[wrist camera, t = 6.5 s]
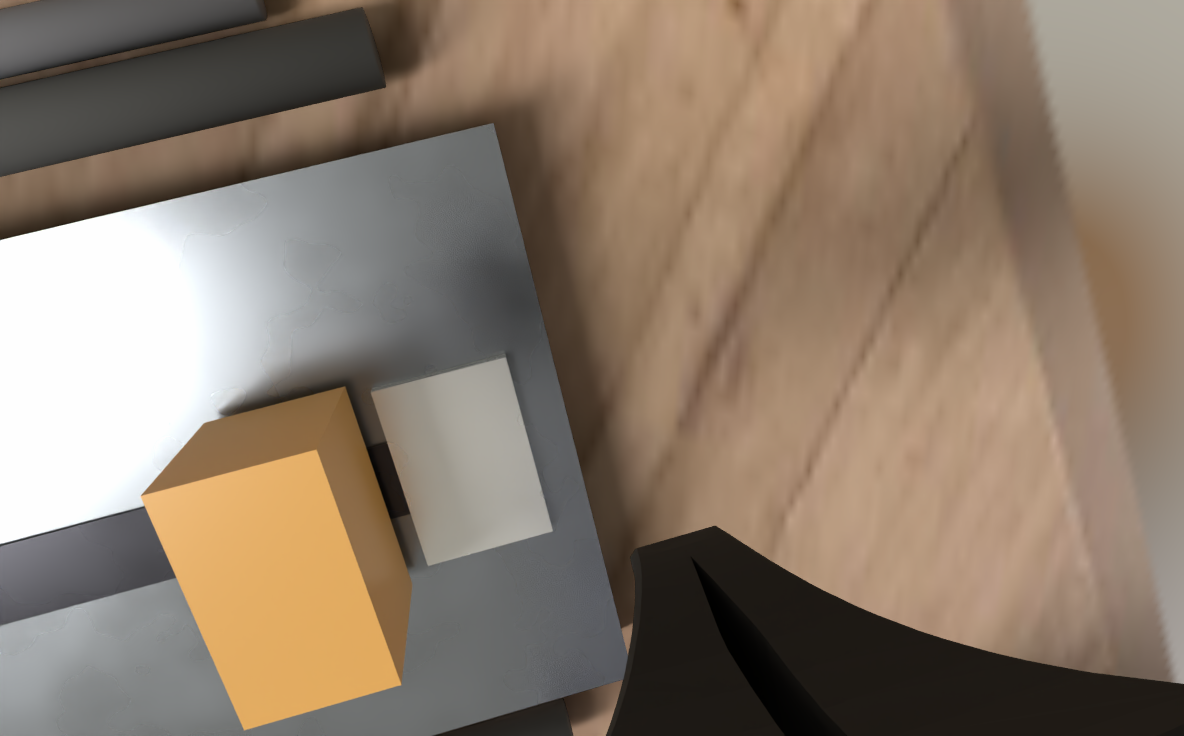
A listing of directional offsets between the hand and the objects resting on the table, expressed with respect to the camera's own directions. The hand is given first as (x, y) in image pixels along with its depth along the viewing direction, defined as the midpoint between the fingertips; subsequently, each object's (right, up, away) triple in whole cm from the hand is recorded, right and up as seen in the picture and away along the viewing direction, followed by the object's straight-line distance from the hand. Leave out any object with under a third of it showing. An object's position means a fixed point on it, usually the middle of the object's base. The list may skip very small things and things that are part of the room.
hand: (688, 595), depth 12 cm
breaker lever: (-8, 0, +6) cm, 10 cm away
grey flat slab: (-12, 0, +8) cm, 14 cm away
